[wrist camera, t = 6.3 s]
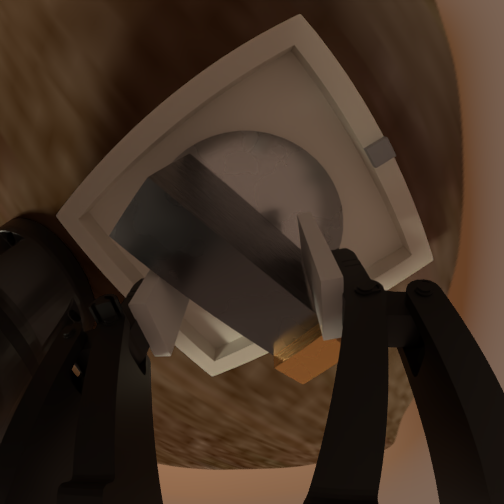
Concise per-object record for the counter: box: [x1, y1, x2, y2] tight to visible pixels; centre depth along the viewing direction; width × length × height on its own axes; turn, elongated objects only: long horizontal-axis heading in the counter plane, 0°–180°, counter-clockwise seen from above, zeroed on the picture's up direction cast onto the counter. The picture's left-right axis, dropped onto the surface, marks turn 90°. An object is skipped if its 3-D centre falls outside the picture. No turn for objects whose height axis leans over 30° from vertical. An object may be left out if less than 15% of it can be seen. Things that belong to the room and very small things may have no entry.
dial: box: [109, 130, 343, 384], centre depth 14 cm, size 12×12×8 cm
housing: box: [56, 14, 433, 377], centre depth 18 cm, size 20×18×4 cm
